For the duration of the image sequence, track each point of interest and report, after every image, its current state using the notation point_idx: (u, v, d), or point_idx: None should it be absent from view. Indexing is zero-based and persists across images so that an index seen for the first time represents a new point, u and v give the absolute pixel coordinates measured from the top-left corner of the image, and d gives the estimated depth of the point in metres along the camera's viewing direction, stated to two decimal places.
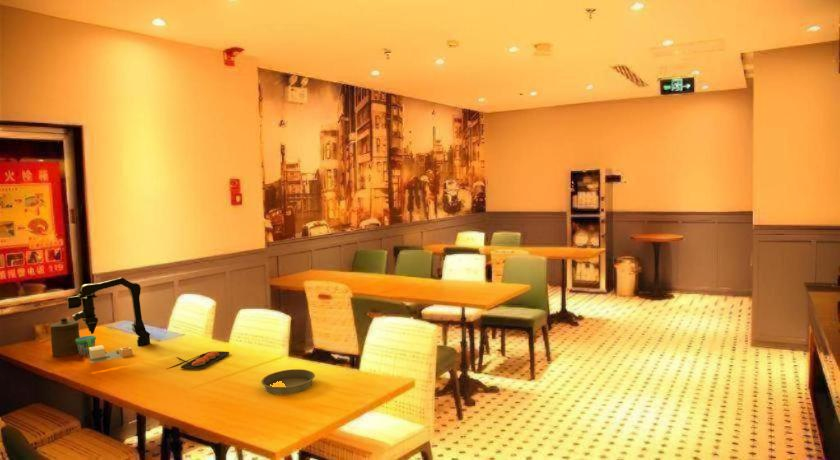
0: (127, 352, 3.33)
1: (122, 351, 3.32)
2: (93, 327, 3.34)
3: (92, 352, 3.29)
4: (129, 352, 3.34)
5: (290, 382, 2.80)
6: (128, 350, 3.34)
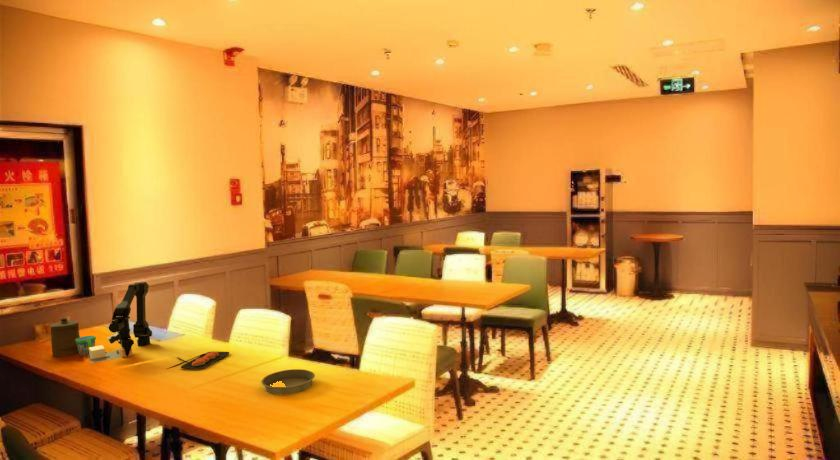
0: None
1: (122, 351, 3.32)
2: (128, 349, 3.32)
3: (92, 352, 3.29)
4: (129, 352, 3.34)
5: (290, 382, 2.80)
6: None
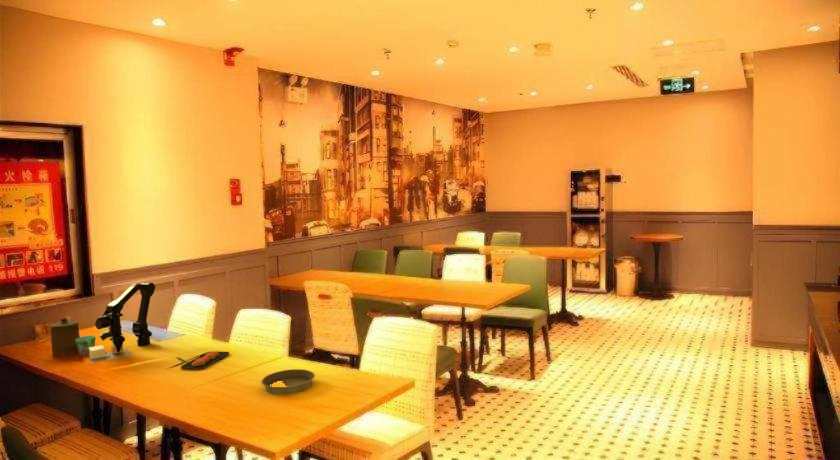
0: None
1: (113, 348, 3.37)
2: (119, 346, 3.38)
3: (92, 352, 3.29)
4: None
5: (290, 382, 2.80)
6: None
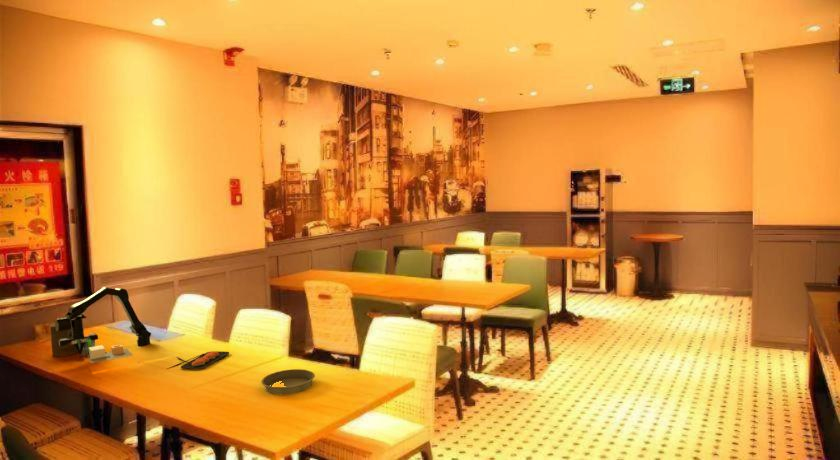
0: (118, 350, 3.39)
1: (113, 349, 3.37)
2: (76, 348, 3.28)
3: (92, 352, 3.29)
4: (120, 350, 3.40)
5: (290, 382, 2.80)
6: (119, 348, 3.39)
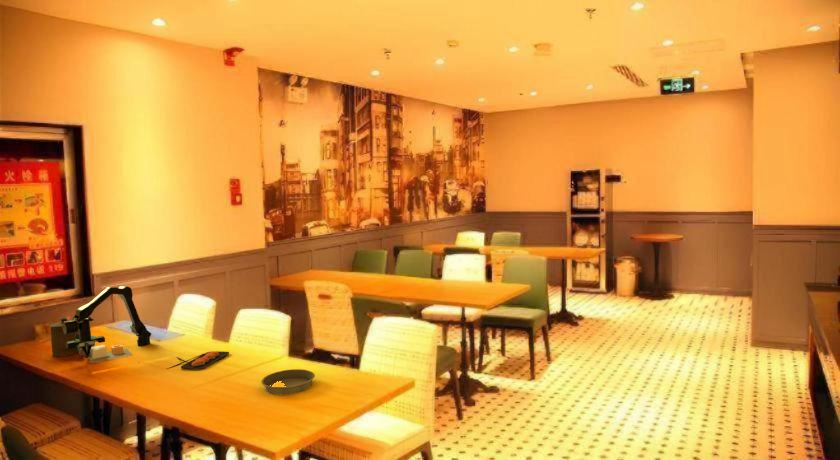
0: (118, 350, 3.39)
1: (113, 349, 3.37)
2: (84, 351, 3.30)
3: (94, 352, 3.30)
4: (120, 350, 3.40)
5: (290, 382, 2.80)
6: (119, 348, 3.39)
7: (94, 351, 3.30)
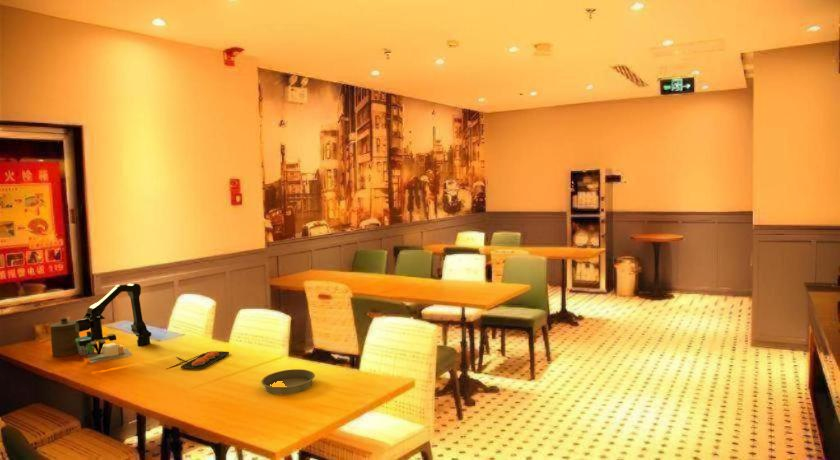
0: (118, 350, 3.39)
1: None
2: (95, 348, 3.33)
3: (105, 350, 3.33)
4: (120, 350, 3.40)
5: (290, 382, 2.80)
6: (119, 348, 3.39)
7: (105, 349, 3.33)
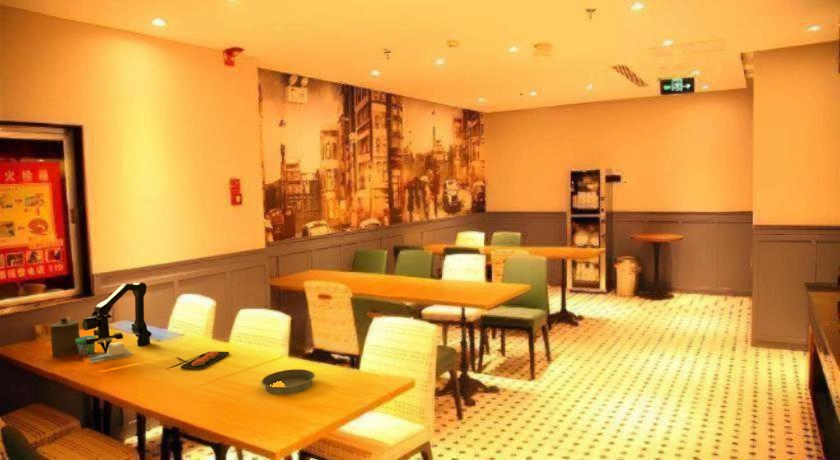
0: None
1: None
2: None
3: (112, 348, 3.35)
4: None
5: (290, 382, 2.80)
6: None
7: (112, 348, 3.35)
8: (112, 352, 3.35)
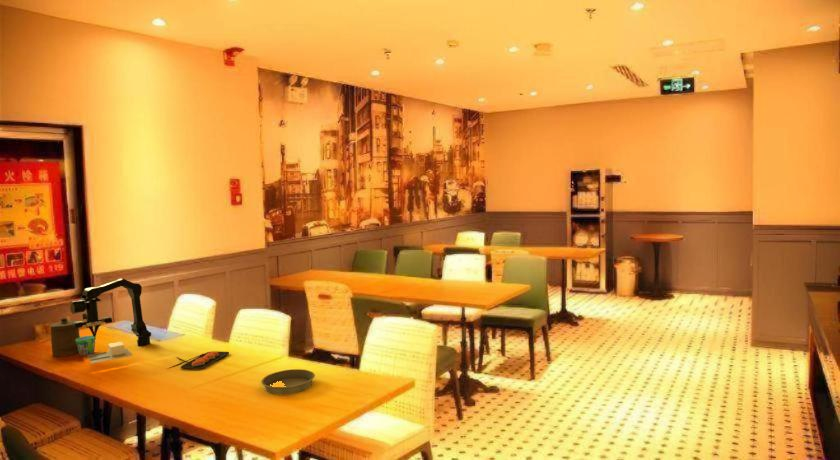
0: None
1: None
2: (91, 331, 3.32)
3: (112, 348, 3.35)
4: None
5: (290, 382, 2.80)
6: None
7: (112, 348, 3.35)
8: (112, 352, 3.35)
